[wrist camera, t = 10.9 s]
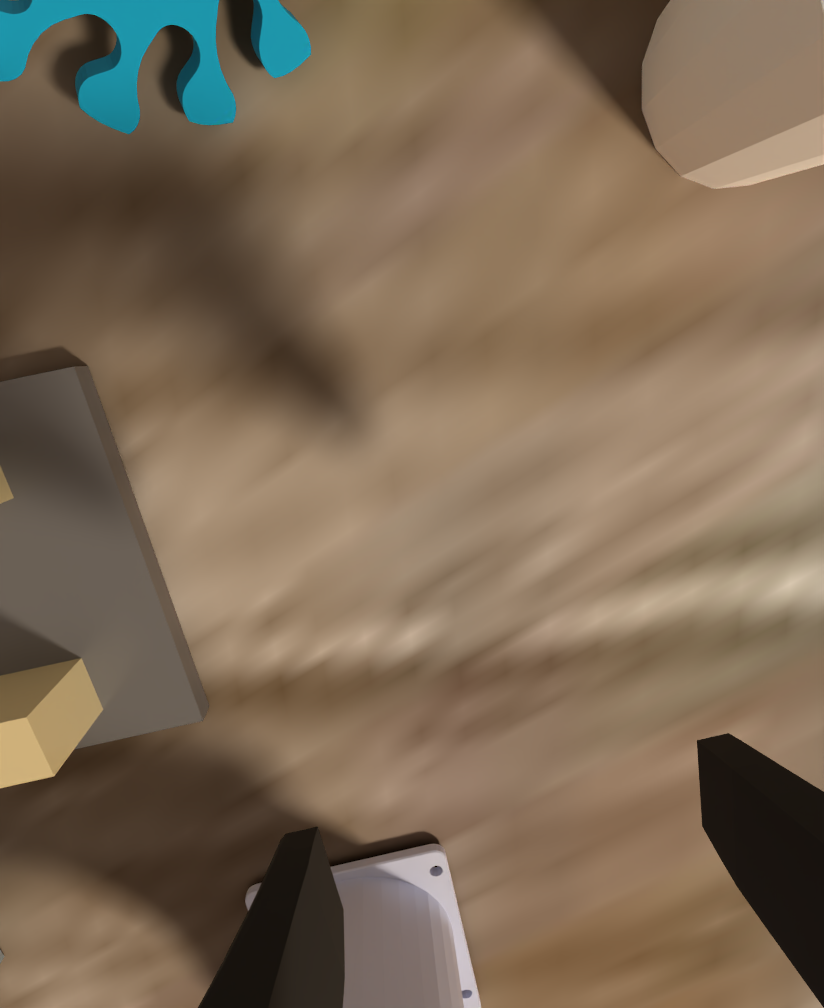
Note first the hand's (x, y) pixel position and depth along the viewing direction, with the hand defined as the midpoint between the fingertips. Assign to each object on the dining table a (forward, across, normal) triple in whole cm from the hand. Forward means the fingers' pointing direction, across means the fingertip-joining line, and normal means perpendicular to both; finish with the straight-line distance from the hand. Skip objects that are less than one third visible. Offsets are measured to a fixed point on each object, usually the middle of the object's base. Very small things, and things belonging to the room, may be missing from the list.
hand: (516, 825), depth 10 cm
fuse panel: (+9, +14, -4) cm, 17 cm away
